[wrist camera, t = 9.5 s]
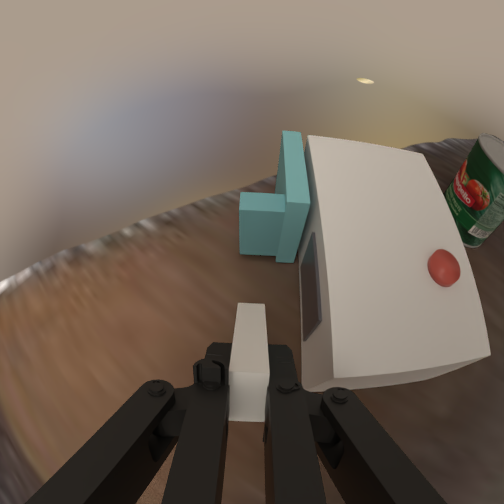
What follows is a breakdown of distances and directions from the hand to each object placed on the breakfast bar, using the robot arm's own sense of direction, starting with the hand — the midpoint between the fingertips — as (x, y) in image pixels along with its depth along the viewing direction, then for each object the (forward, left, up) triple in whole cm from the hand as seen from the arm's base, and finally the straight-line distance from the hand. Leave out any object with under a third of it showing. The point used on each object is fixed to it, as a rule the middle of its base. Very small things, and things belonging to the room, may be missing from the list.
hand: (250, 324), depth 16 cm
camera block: (-11, -1, -5) cm, 12 cm away
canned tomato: (-29, -2, -5) cm, 29 cm away
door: (-6, -10, -5) cm, 12 cm away
